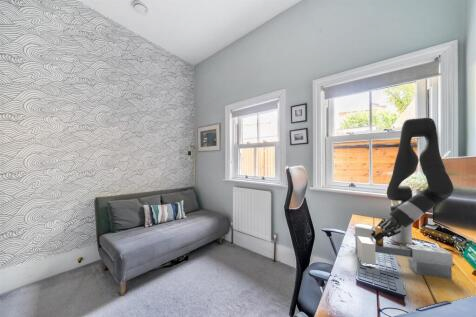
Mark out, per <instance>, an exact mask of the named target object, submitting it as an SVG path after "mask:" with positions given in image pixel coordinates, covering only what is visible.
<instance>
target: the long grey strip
mask: <svg viewBox="0 0 476 317" xmlns="http://www.w3.org/2000/svg"><path fill="white" fill-rule="evenodd" d="M374 228H375V229H374V231H375V235H376V234H378V233H379V232H381V231H382V230H383V228H382V227H378V226H377V225H375V227H374ZM373 243H374V244H375V253H378V254H386V255H393V256H398V257H399V256H400V257H406V258H407V257H408V258H409V257H412V250H411V249H410V248H409V247H406V246H401V245H400V246H399V245H391V244H384V237H383V238H382V239H380V240H379V241H376V240H375V242H373Z"/></svg>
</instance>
